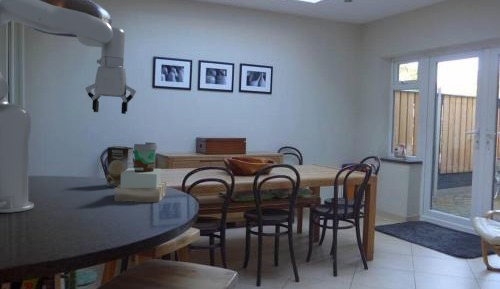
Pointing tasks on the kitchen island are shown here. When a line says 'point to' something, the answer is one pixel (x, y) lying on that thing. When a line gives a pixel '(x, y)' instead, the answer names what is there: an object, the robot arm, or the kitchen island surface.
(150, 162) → the food container
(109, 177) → the coffee box
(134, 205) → the kitchen island surface
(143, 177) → the tower top slab
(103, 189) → the kitchen island surface
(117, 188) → the tower base slab
